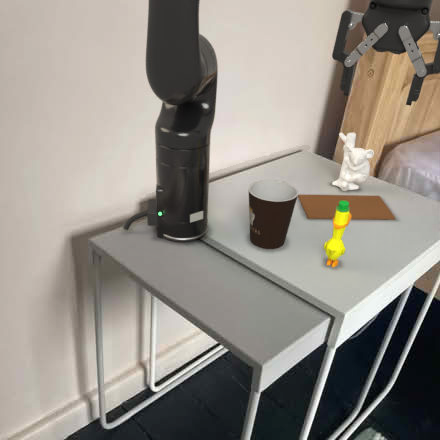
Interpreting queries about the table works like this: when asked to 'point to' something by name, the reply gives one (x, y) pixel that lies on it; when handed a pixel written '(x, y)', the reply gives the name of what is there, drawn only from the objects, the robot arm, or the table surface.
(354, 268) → the table surface
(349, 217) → the toy figure
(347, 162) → the white animal statuette
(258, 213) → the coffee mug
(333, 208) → the placemat
